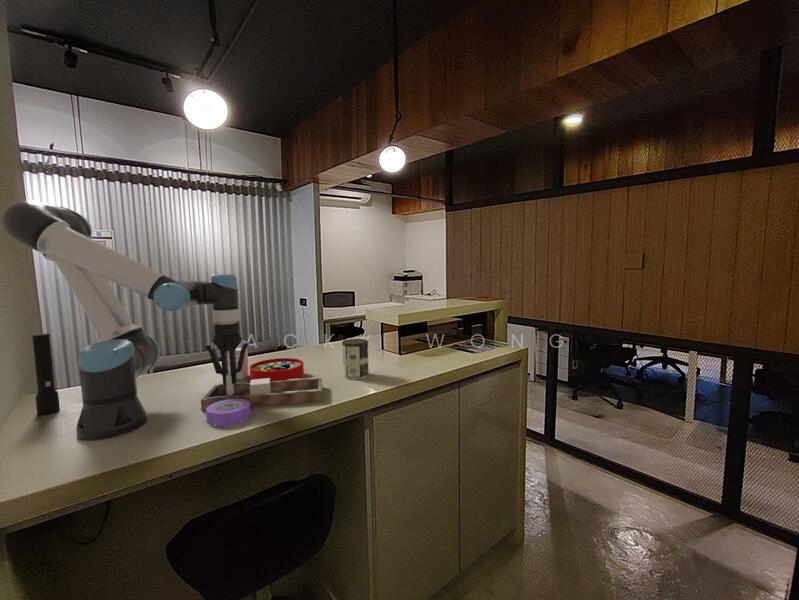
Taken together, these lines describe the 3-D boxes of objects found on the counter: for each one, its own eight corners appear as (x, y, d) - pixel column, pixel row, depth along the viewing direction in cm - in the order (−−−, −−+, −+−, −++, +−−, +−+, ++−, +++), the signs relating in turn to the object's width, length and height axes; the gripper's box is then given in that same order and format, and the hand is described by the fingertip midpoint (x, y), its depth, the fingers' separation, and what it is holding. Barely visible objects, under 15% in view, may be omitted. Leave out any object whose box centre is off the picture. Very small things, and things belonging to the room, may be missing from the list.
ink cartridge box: (222, 379, 143) (220, 342, 142) (229, 375, 148) (227, 339, 147) (242, 379, 142) (240, 342, 141) (249, 375, 147) (247, 339, 146)
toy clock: (238, 366, 140) (281, 355, 157) (239, 381, 141) (282, 369, 157) (271, 374, 129) (314, 362, 146) (272, 390, 130) (314, 376, 146)
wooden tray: (201, 411, 111) (200, 399, 111) (215, 395, 125) (214, 384, 125) (322, 401, 118) (321, 390, 118) (322, 387, 132) (322, 376, 132)
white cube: (270, 395, 125) (270, 377, 125) (270, 401, 119) (269, 383, 119) (251, 397, 123) (251, 379, 123) (250, 403, 118) (249, 385, 117)
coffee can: (364, 371, 153) (364, 337, 151) (372, 377, 143) (371, 342, 142) (340, 373, 149) (339, 339, 147) (346, 381, 139) (345, 344, 138)
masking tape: (238, 407, 114) (238, 395, 114) (258, 416, 107) (257, 404, 107) (199, 419, 105) (198, 406, 105) (218, 430, 98) (217, 417, 98)
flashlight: (34, 413, 111) (40, 416, 108) (26, 335, 108) (32, 336, 106) (55, 407, 115) (62, 410, 112) (48, 332, 113) (55, 333, 110)
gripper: (250, 319, 122) (253, 388, 124) (208, 321, 119) (212, 391, 122) (245, 323, 115) (249, 396, 117) (200, 325, 112) (205, 399, 114)
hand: (230, 393), depth 119 cm, fingers closed
